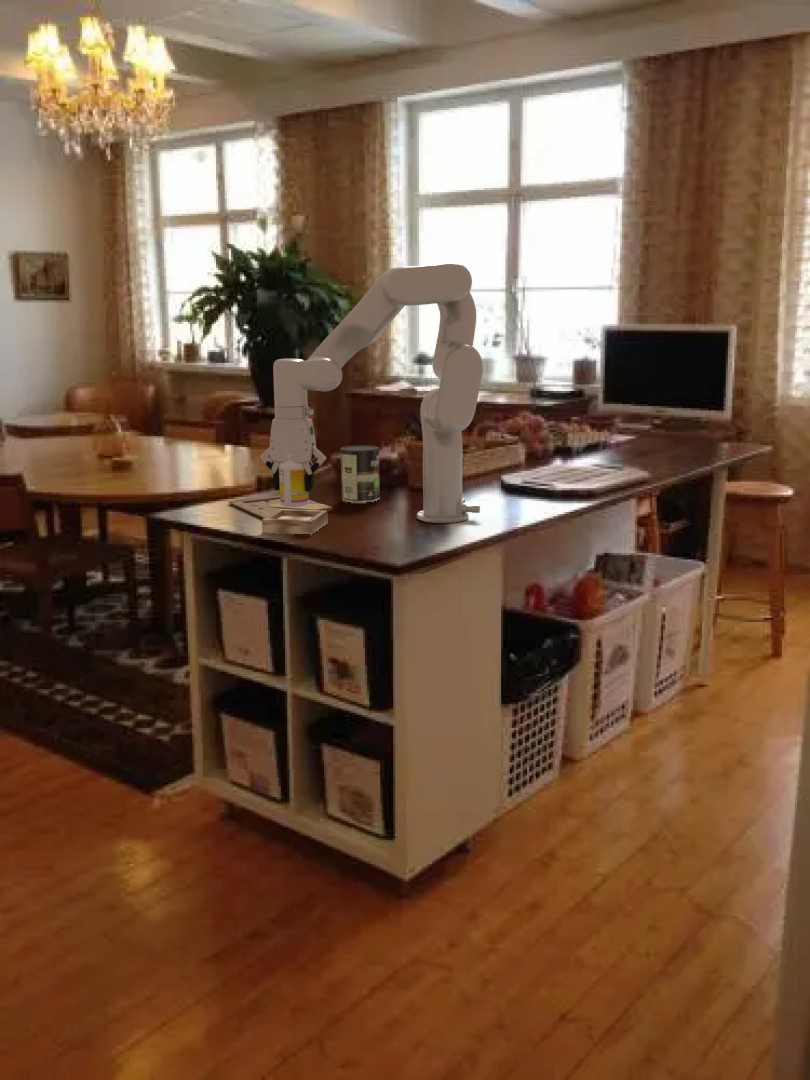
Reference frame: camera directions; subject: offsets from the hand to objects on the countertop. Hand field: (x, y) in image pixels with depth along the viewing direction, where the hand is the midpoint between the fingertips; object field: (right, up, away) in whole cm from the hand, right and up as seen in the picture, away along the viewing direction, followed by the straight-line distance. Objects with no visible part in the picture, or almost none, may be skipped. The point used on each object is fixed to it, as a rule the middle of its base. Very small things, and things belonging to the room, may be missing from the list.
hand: (293, 489), depth 228 cm
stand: (0, -9, +2) cm, 9 cm away
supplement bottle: (0, -4, +1) cm, 4 cm away
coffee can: (+14, -1, +34) cm, 37 cm away
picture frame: (-7, -4, +25) cm, 26 cm away
